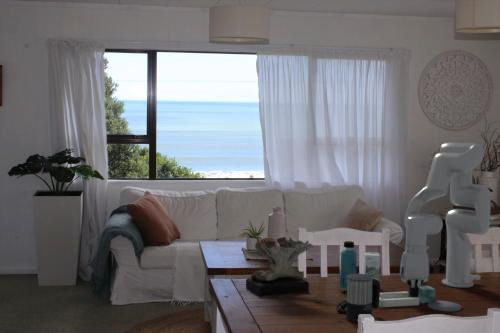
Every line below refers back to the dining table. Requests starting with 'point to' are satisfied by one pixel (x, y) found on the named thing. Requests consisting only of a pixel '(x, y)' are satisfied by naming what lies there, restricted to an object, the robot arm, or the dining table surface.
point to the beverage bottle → (347, 263)
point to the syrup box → (372, 264)
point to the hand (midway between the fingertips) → (413, 296)
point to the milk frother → (360, 296)
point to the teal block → (426, 294)
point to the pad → (444, 306)
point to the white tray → (397, 299)
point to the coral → (279, 269)
